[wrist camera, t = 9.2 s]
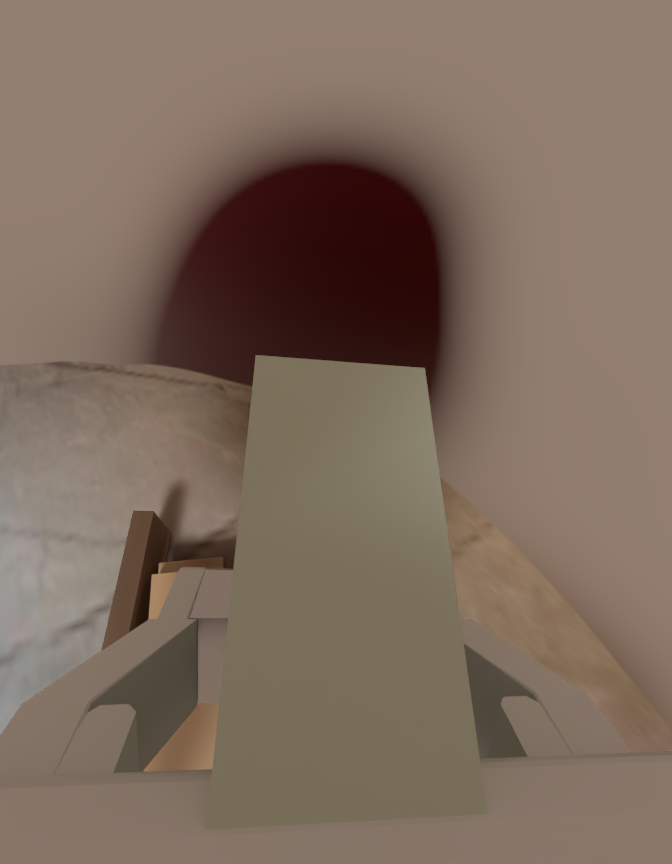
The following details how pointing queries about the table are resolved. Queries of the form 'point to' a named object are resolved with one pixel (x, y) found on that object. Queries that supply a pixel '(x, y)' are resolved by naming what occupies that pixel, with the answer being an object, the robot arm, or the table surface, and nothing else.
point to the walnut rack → (137, 574)
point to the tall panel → (342, 610)
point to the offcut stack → (199, 729)
